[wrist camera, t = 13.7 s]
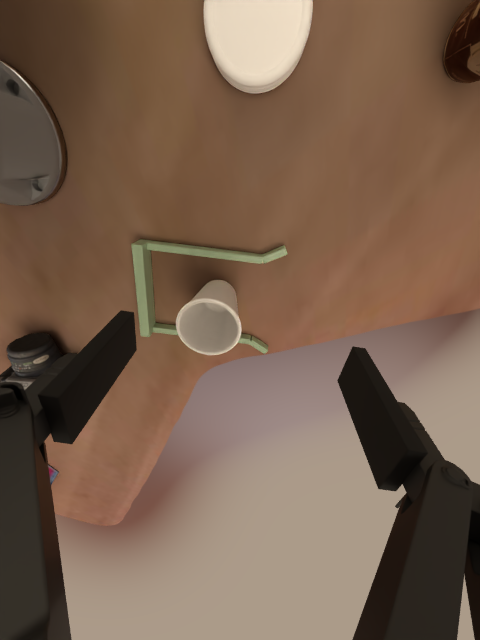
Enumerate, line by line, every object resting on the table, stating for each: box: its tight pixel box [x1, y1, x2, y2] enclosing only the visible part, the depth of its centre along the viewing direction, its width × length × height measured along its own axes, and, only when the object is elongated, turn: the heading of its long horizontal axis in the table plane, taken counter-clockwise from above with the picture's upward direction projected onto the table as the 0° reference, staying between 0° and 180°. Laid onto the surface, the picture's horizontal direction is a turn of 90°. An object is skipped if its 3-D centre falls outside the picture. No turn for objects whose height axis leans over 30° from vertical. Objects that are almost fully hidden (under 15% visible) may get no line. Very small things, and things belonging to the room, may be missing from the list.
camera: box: [0, 333, 64, 390], centre depth 45 cm, size 16×10×10 cm, turn 89°
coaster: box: [203, 0, 313, 94], centre depth 25 cm, size 10×10×4 cm
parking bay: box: [131, 239, 287, 354], centre depth 40 cm, size 21×18×3 cm
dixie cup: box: [176, 280, 241, 355], centre depth 37 cm, size 8×8×10 cm
